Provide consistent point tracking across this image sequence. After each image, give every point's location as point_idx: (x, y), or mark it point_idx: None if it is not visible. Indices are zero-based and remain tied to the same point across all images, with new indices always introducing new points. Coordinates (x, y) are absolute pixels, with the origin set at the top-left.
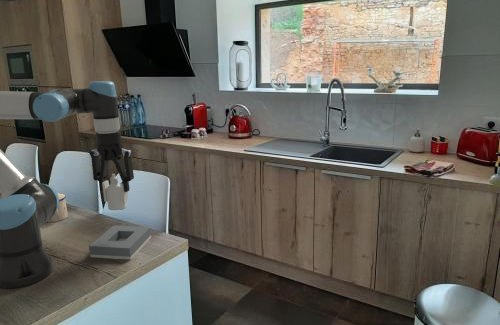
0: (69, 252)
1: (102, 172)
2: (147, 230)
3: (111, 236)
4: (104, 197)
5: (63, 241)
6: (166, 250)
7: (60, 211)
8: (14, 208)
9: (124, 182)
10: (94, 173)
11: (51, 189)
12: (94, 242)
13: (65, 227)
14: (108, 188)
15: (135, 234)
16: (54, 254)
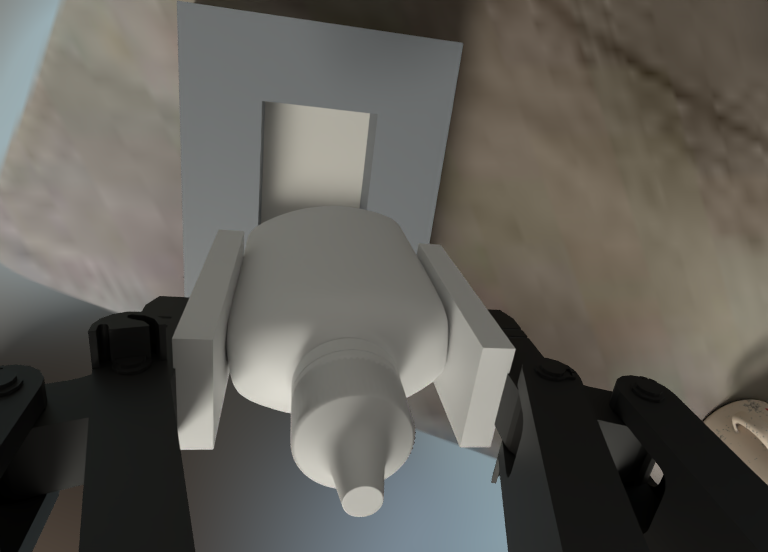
0: (573, 103)
1: (566, 475)
2: (184, 267)
3: (374, 177)
4: (447, 262)
5: (638, 221)
6: (23, 126)
7: (735, 448)
8: None
9: (95, 323)
10: (707, 453)
11: None
12: (446, 93)
13: (669, 357)
14: (406, 301)
15: (232, 206)
16: (641, 81)
